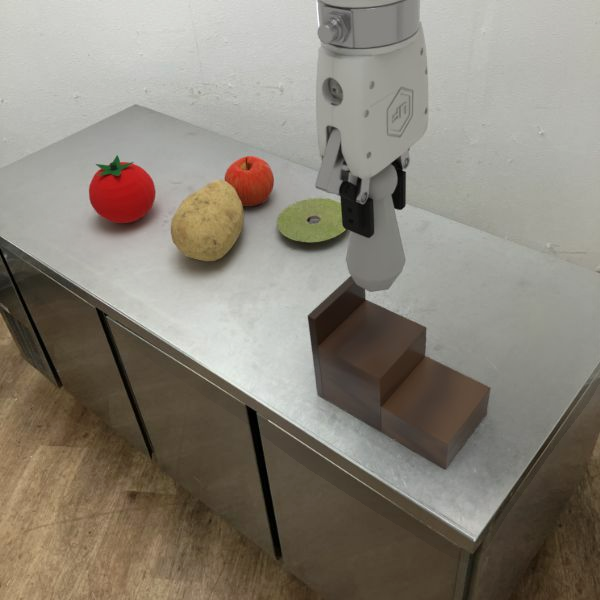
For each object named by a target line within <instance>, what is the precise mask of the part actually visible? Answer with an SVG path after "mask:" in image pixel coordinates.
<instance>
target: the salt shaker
mask: <svg viewBox="0 0 600 600" xmlns="http://www.w3.org/2000/svg"><path fill="white" fill-rule="evenodd" d="M397 179H398V178H397V173H396V170H395V168H394V166H393V165H391V164H389V165H388V166H387V167H385V168H384V169H383V170H381V171H380V172H379V173H377V174H376V175H374V176H373V177H371V178H370V186H369V195H368V197H369V198H372V199H373V204H374V235H373V236H371V237H370V238H367V237H364V236H362V235H359V234H357V233H354V232H352V231H349V232H350V233H349V238H348V245H347V250H346V256H345V262H346V268H347V271H348V274H349V275H350V276H351V277H352V278H353V280H354V281H355V283H356V284H357V285H358V286H360V287H362V288H364V289H365V291H367V292H369V293H375V292H381V291H387V290H389V289H390V288H391V287H392V286H393V284H394V283H395V282H396V280H397V279H398V278H399V276H400V275H401V273H402V272H403V270H404V267H405V264H406V261H407V260H406V255H405V252H404V246H403V241H402V236H401V232H400V227H399V223H398V219H397V214H396V209H394V205H393V200H392V196H391V194H392V193H393V192H394V190H395V188H396V186H397ZM348 182H351V183H352V184H354V185H356V186H357V176H354V175H352V174H351V173H350V172H349V180H348Z"/></svg>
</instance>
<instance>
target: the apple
mask: <svg viewBox="0 0 600 600" xmlns="http://www.w3.org/2000/svg"><path fill="white" fill-rule="evenodd" d="M224 181H226V182H227V183H229V184H230V185H232V187H233V188H234V189H235V191H236V193H237V195H238V197H239V198H240V200H241V202H242V207H254V206H258V205H261V204H263V203H265V202H266V201H267V200H268V199H269V197H270V195H271V194H272V191H273V189H274V186H275V185H274V184H275V177H274V173H273V171H272V168H271V166H270V164H269V163H268V162H267V161H266V160H264V159H262V158H260V157H258V156H254V155H246V156H243V157H241V158H238V159H237V160H234V162H232V163H231V164H230V165H229V167H228V168H227V169H226V171H225V173H224Z"/></svg>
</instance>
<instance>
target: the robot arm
mask: <svg viewBox="0 0 600 600" xmlns="http://www.w3.org/2000/svg"><path fill="white" fill-rule="evenodd" d="M315 2H316V14H317V15H316V16H317V25H318V27H317V37H318V39H319V43H320V45H321V46H320V47H318V49H317V50H318V51H317V60H316V61H317V62H316V77H315V118H316V119H315V122H316V135H317V146H318V152H319V157H320V161H321V164H320V167H319V170H318V173H317V176H316V180H315V186H314V187H315V188H316V189H317V190H319V191H322V192H325V193H328V194H332V195H336V196H338V197H339V198H340V203H341V212H342V225H343V227H344V228H345V229H346V231H349V232H351V231H352V232H354V233H357V234H359V235H362V236H364V237H367V238H370V237H371V236H373V235H374V204H373V199H372V198H369V197H368V195H369V186H370V178H371V177H373V176H374V175H376V174H377V173H379V172H380V171H381V170H383V169H384V168H385V167H387V166H388V165H389V164H391V165H393V166H394V168H395V170H396V173H397V178H398V179H397V186H396V188H395V190H394V192H393V193H392V194H391V196H392V200H393V205H394V209H395V210H397V211H402V210H403V209H404V208H405V207H407V206H406V205H407V203H406V202H407V200H406V199H407V171H405V170H407V169H408V167H409V165H410V162H411V159H410V149H411V148H412V147H413V146H414V145H415V144H416V143H417V142H419V141H420V140H421V139H422V138H423V137H424V135H425V133H427V131H428V128H429V127H428V126H429V74H428V73H429V72H428V70H429V69H428V57H427V47H426V40H425V34H424V29H423V23H422V21H420V18H421V16H420V13H421V0H315ZM349 172H350V173H351V174H352V175H354V176H357V186H356V185H354V184H352V183H351V182H349Z"/></svg>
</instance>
